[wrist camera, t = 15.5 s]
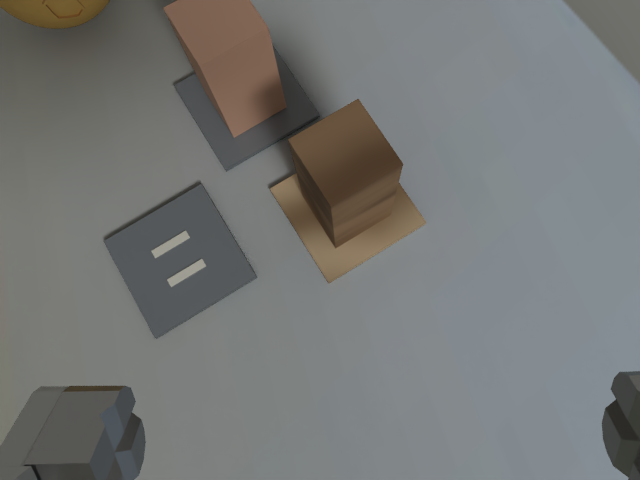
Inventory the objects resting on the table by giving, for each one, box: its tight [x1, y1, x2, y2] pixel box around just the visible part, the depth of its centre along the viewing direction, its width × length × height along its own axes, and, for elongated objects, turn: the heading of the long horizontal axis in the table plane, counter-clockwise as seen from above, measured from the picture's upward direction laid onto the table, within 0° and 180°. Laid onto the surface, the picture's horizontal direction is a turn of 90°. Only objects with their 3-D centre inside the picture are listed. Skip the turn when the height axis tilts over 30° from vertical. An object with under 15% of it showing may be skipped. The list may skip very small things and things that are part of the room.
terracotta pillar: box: [163, 0, 287, 138], centre depth 38 cm, size 4×4×10 cm
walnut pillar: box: [288, 99, 403, 248], centre depth 36 cm, size 4×4×10 cm
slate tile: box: [174, 45, 320, 172], centre depth 43 cm, size 8×8×1 cm
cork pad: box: [270, 173, 426, 283], centre depth 41 cm, size 8×8×1 cm
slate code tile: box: [104, 184, 257, 339], centre depth 41 cm, size 8×8×1 cm
